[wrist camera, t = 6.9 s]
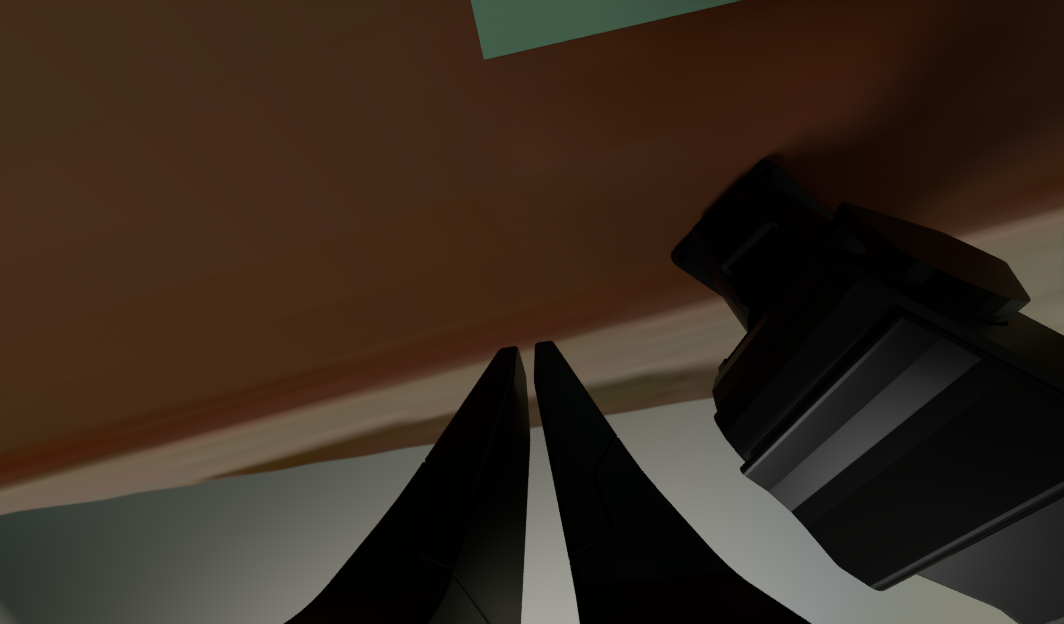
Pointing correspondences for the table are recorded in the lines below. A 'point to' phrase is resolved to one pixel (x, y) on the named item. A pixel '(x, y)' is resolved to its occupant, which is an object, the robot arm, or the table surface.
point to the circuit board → (565, 19)
